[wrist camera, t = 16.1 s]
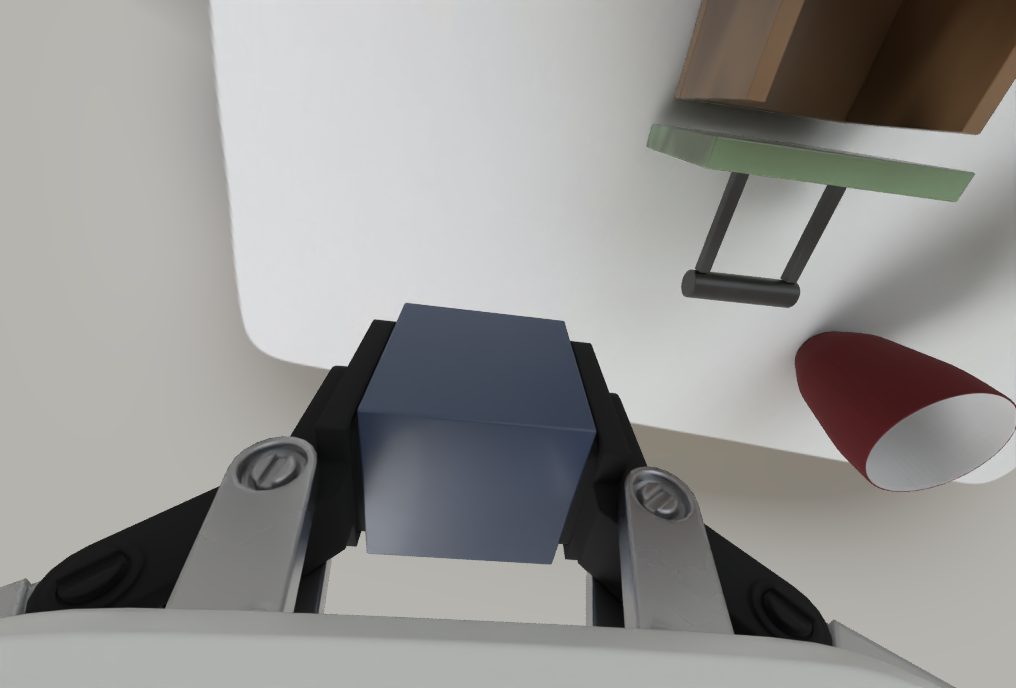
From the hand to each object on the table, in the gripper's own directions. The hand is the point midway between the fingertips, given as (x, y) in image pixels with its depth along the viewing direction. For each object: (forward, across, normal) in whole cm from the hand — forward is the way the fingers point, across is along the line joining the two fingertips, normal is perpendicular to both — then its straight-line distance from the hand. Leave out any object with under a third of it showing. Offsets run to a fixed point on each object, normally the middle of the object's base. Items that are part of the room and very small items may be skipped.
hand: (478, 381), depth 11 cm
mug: (+18, -28, +7) cm, 34 cm away
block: (0, 0, 0) cm, 0 cm away
